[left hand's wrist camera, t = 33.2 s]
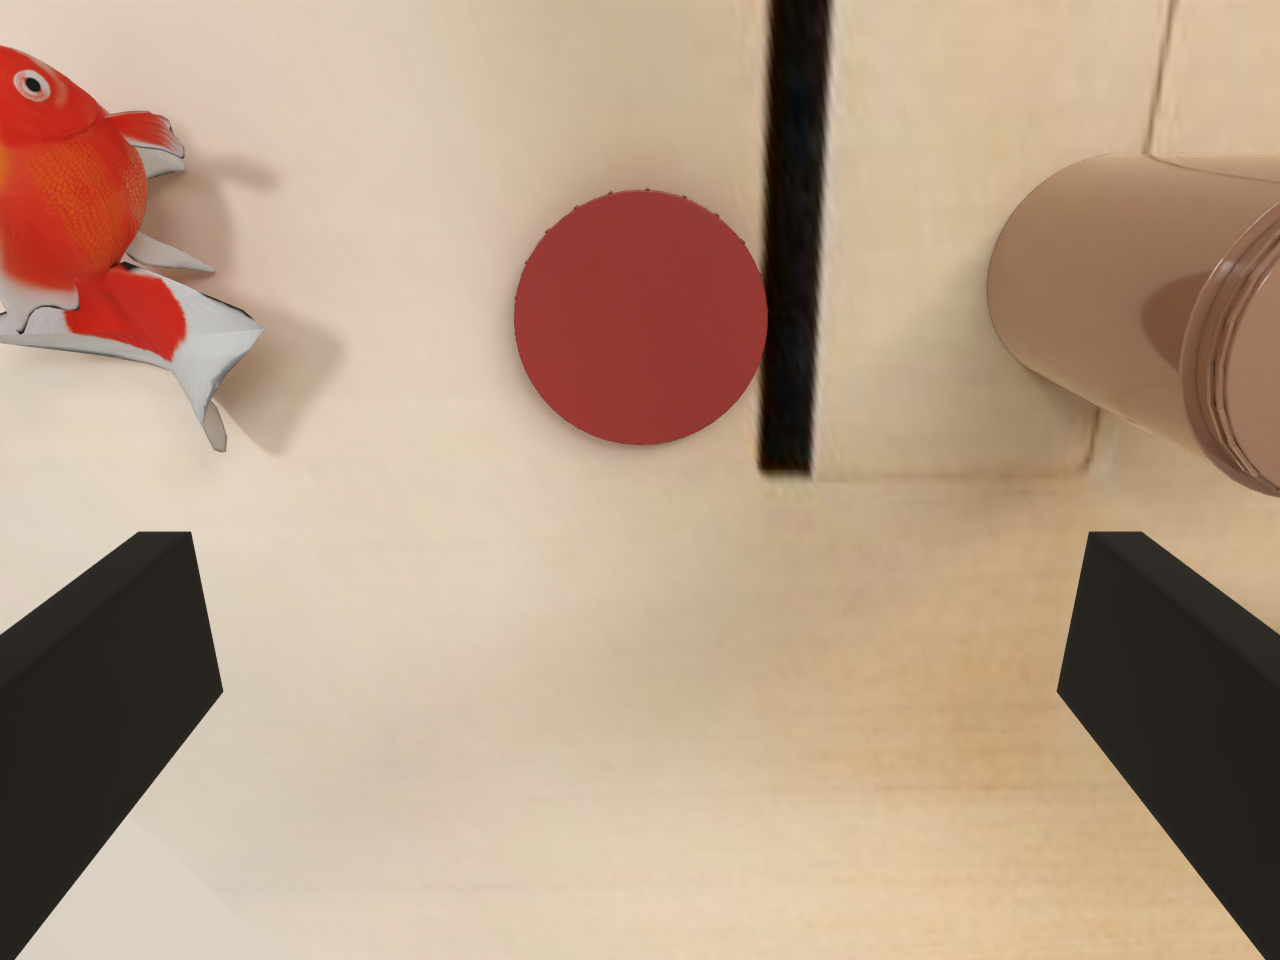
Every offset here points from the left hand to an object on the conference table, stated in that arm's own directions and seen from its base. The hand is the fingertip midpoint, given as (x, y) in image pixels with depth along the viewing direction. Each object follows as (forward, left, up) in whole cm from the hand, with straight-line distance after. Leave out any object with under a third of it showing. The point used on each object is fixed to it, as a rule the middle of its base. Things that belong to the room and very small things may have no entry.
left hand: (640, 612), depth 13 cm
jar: (+15, +13, -26) cm, 33 cm away
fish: (-17, -10, -26) cm, 33 cm away
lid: (0, 0, -25) cm, 25 cm away
